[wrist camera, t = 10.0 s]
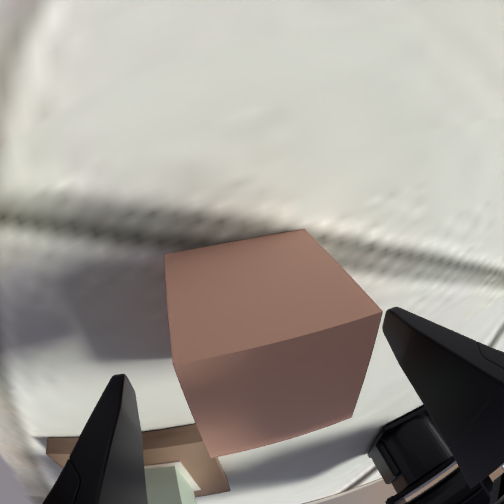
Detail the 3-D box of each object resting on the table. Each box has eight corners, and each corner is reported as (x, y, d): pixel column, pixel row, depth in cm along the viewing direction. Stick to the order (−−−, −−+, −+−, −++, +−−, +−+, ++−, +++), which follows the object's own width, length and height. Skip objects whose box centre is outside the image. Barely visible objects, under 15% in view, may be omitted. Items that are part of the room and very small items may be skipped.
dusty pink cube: (303, 228, 11) (382, 311, 7) (301, 330, 14) (351, 417, 10) (164, 253, 10) (172, 364, 6) (189, 355, 13) (211, 457, 9)
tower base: (202, 422, 15) (207, 441, 14) (227, 478, 20) (230, 491, 19) (47, 437, 14) (45, 455, 12) (111, 491, 18) (112, 504, 17)
